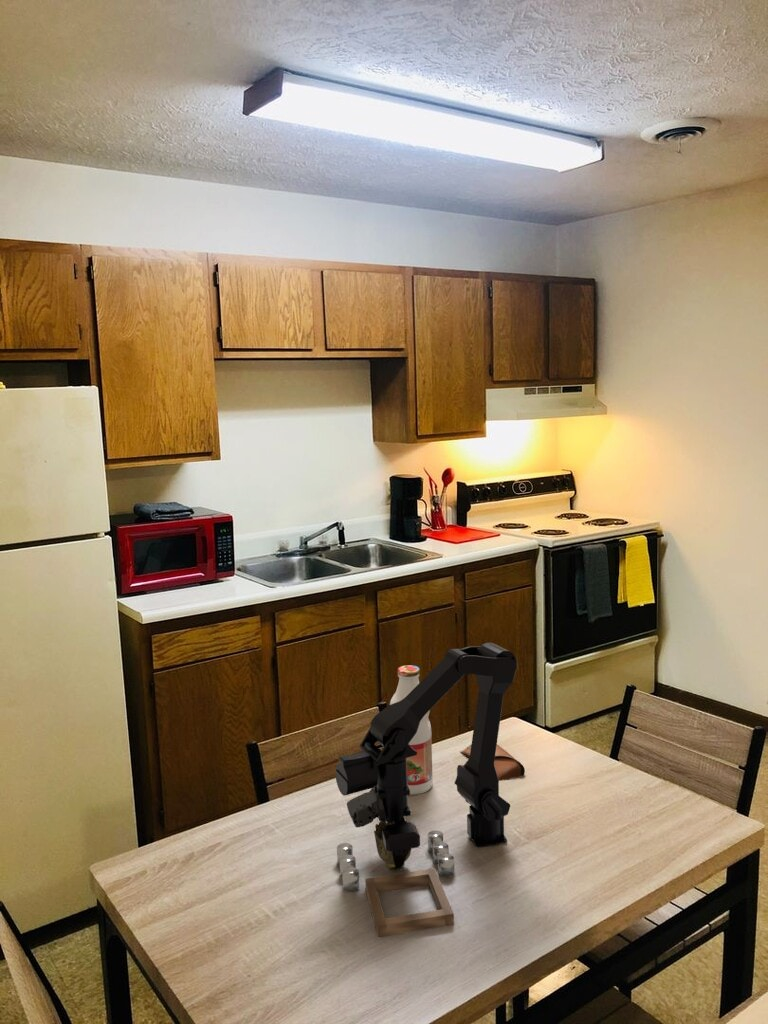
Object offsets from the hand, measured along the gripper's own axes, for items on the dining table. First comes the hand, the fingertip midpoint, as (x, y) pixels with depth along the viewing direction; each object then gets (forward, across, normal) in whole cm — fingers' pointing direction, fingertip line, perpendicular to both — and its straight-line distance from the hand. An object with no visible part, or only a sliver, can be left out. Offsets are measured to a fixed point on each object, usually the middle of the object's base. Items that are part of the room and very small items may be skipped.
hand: (394, 857), depth 147 cm
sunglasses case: (+3, -35, +31) cm, 47 cm away
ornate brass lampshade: (+2, 0, 0) cm, 2 cm away
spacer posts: (+2, 0, 0) cm, 2 cm away
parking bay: (+2, +12, 0) cm, 12 cm away
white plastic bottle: (+2, -30, +10) cm, 31 cm away
